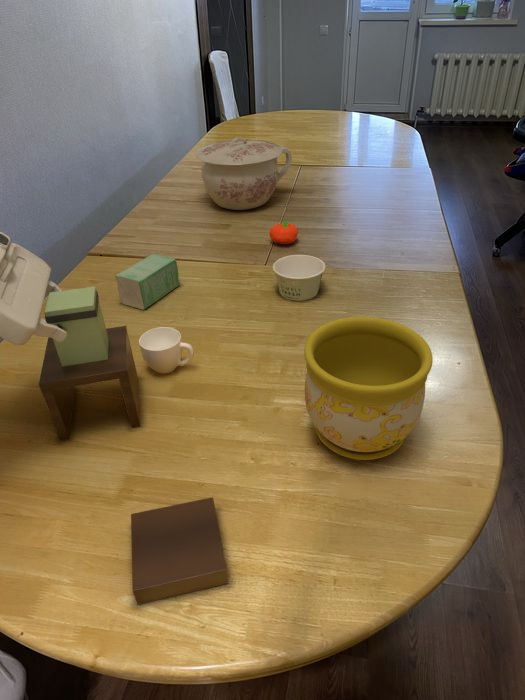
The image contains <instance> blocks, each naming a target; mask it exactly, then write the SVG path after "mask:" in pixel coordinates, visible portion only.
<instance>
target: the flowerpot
mask: <svg viewBox="0 0 525 700" xmlns="http://www.w3.org/2000/svg"><path fill="white" fill-rule="evenodd" d="M303 354H304V360H305V368H306V373H305V379H304V403H305V407H306V410H307V413H308V414H307V415H308V416H309V418H310V420H311V422H312V423H313V426H314V429H315V432H316V435H317V436H318V438H319V440H320V441H321V443H323V445H324V446H326V447H327V448H328V449H329V450H331V451H333V452H334V453H336V454H337V455H338V456H339V455H340V456H342V457H344V458H347V459H351V460H355V461H373V460H377V459H381V458H384V457H387V456H390V455H391V454H393V453H394V452H396V451H397V450H398V449H399V448H401V446H402V445H403V443H404V442H405V439H406V437H408V436H409V434H411V432H412V431H413V430H414V428H415V427H416V425H417V423H418V422H419V419H420V417H421V415H422V411H423V409H424V403H425V397H426V383H427V380H428V377H429V374H430V372H431V369H432V367H433V362H434V361H433V352H432V349H431V347H430V346H429V344H428V342H427V341H426V340H425V338H423V337H422V336H421V334H419V333H418V332H416V331H415V330H413V329H412V328H410V327H408V326H406V325H403V324H401V323H399V322H395V321H393V320H389V319H385V318H381V317H373V316H372V317H371V316H351V317H344V318H339V319H336V320H332V321H329V322H327V323H324V324H323V325H321V326H319V327H318V328H316V329H315V330H313V332H311V334H310V335H309V337H308V338H307V340H306V342H305V345H304V350H303Z"/></svg>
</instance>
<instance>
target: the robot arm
mask: <svg viewBox="0 0 525 700" xmlns="http://www.w3.org/2000/svg"><path fill="white" fill-rule="evenodd" d="M51 272H52V269H51V266H50V265H49V264H48V263H47V262H46V261H45V260H44V259H42V258H40V257H39V256H37V255H36V254H34V252H33V253H32V252H31V251H30V250H28V249H27V248H24V247H23V246H21V245H19V244H18V243H14V242H11V237H10V236H8V235H7V234H5V233H4V232H2V231H0V338H2V339H3V340H5V341H7V342H9V343H10V344H12V345H15V346H25V345H26V344H27V343H28V342H29V340H30V339H31V338H32V337H33V335H34V336H36V337H41V338H48V337H49V338H50V337H51V338H53V339H55V340H57V341H58V342H62V341H63V340H64V339H65V338H66V337H67V328H65V327H63V326H62V325H60V324H57V325H56V326H55V325H51V324H48V323H47V322H46V319H45V318H42V317H40V316H41V312H42V309H43V304H44V301H45V297H48V294H49V293H50V292H57V291H63V290H62V289H61V288H60V287H59V286H58V285H57V284H56V283H55V282H53V281H52V280H50V277H51Z"/></svg>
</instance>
